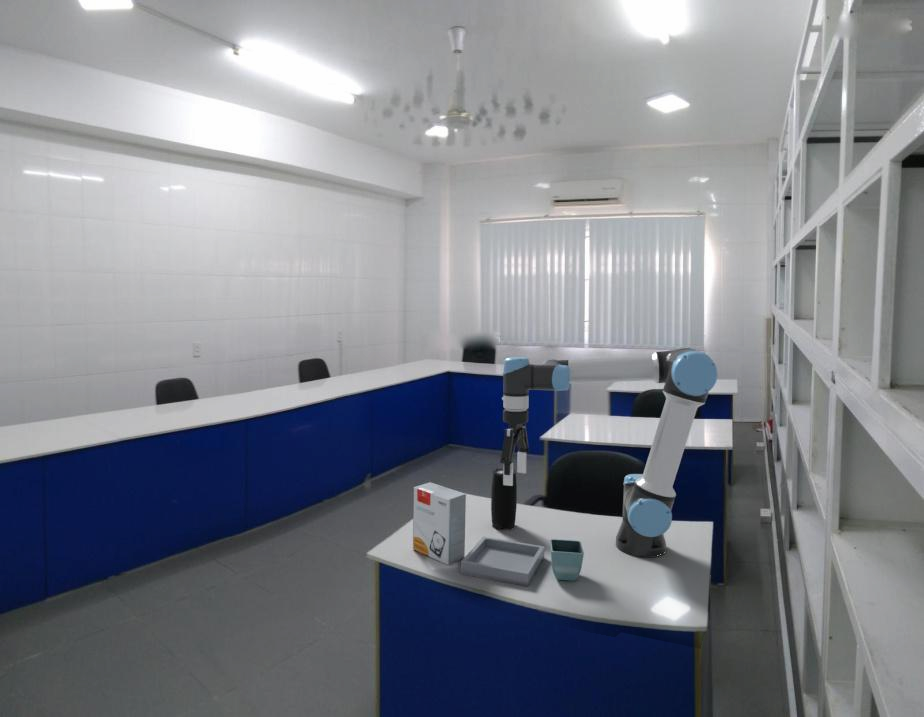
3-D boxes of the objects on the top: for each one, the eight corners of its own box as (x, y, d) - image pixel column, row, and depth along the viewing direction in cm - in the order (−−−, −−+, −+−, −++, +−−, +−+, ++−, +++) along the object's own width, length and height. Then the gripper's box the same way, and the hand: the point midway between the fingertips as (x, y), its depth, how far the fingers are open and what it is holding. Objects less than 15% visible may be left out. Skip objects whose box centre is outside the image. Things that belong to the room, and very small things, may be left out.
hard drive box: (411, 550, 182) (412, 486, 180) (429, 542, 188) (430, 481, 186) (448, 565, 171) (448, 498, 170) (465, 557, 177) (466, 492, 175)
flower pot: (579, 570, 170) (580, 540, 169) (583, 585, 161) (584, 553, 160) (548, 568, 171) (549, 538, 170) (550, 583, 162) (551, 551, 161)
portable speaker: (511, 520, 208) (512, 465, 206) (519, 530, 199) (521, 473, 197) (487, 521, 206) (488, 466, 204) (494, 532, 197) (496, 474, 195)
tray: (544, 557, 178) (544, 546, 177) (527, 586, 160) (528, 574, 159) (483, 547, 185) (483, 536, 184) (460, 573, 167) (460, 561, 166)
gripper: (516, 401, 189) (515, 466, 191) (489, 415, 166) (489, 489, 168) (539, 403, 186) (538, 469, 188) (515, 417, 163) (514, 492, 165)
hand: (515, 478), depth 178 cm, fingers open, 13 cm apart
